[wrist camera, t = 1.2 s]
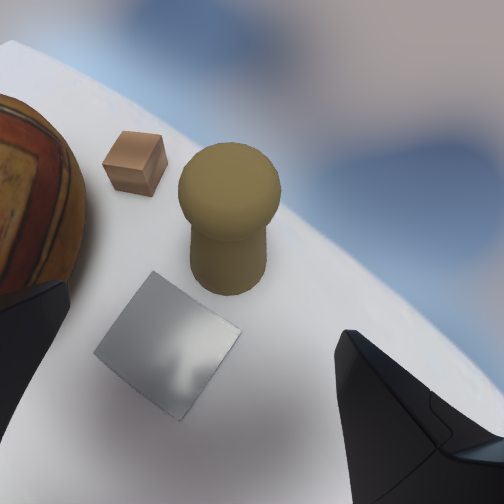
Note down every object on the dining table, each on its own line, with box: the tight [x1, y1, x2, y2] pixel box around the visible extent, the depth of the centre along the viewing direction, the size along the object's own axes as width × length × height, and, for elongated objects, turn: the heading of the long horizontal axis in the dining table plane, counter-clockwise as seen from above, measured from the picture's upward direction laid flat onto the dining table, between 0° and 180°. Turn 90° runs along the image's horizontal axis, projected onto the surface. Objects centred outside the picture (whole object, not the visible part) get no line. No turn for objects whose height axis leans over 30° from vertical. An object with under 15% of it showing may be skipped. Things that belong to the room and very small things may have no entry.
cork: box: [178, 142, 281, 296], centre depth 18 cm, size 6×6×11 cm
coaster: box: [93, 271, 241, 421], centre depth 20 cm, size 8×8×1 cm
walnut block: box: [102, 131, 168, 197], centre depth 24 cm, size 4×4×4 cm
